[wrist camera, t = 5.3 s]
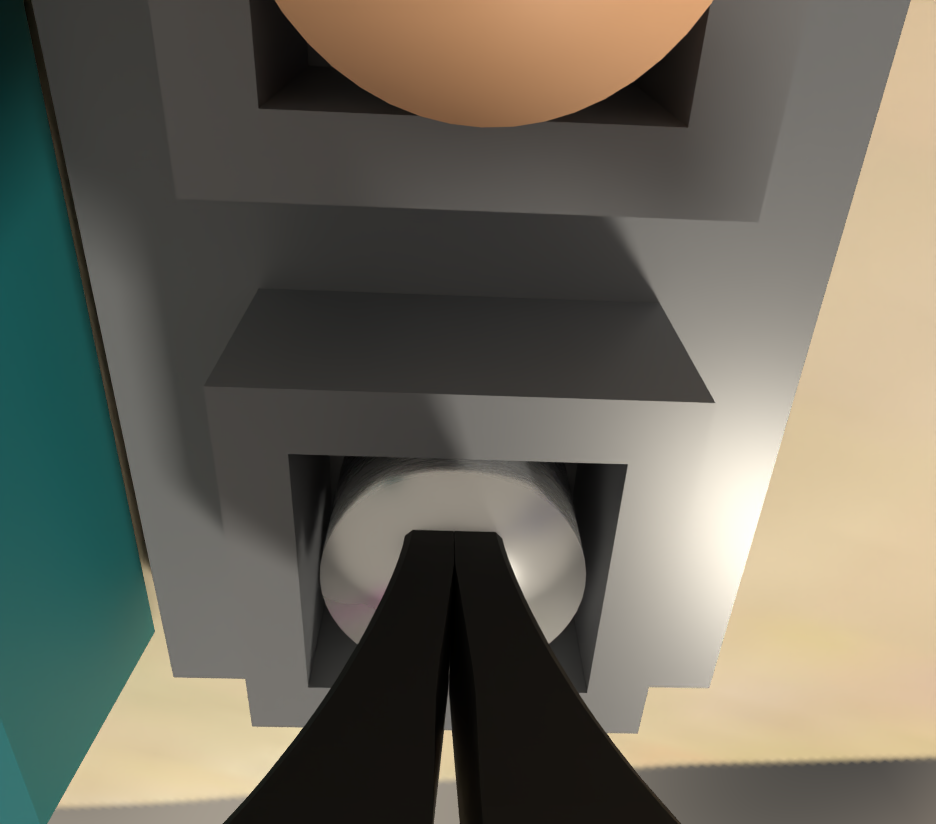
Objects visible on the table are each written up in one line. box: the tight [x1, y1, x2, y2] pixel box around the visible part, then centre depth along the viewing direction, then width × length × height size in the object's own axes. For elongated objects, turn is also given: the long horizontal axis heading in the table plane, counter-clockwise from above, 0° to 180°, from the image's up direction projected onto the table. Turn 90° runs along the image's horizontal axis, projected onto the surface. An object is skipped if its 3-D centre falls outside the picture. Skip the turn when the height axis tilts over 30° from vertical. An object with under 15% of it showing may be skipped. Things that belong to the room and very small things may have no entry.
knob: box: [320, 456, 586, 644], centre depth 13 cm, size 4×4×3 cm
